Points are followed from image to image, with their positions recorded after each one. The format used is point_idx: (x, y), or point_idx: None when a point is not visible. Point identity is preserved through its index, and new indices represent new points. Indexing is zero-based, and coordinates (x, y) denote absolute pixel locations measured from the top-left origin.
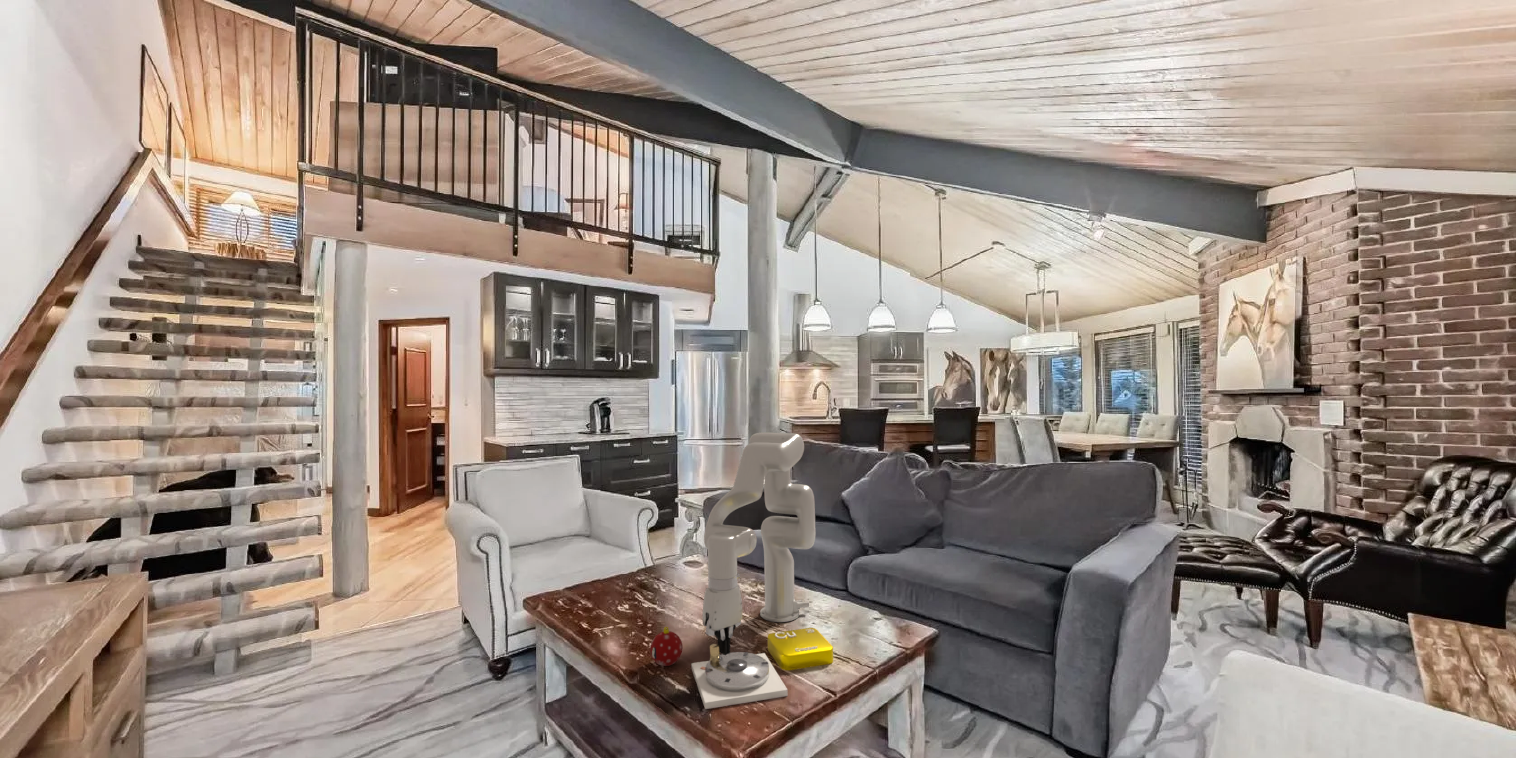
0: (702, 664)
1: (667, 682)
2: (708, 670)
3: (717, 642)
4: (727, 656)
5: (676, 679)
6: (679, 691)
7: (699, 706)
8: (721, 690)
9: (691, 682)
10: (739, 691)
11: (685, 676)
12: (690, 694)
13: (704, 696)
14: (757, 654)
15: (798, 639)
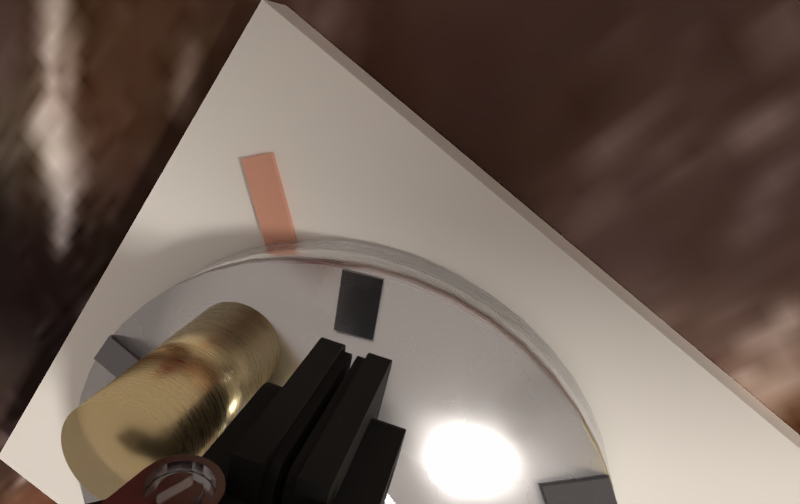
0: (311, 118)
1: (21, 5)
2: (115, 370)
3: (225, 429)
4: (425, 368)
5: (94, 32)
6: (22, 183)
7: (24, 392)
8: None
9: (147, 171)
10: None
11: (170, 60)
12: (54, 271)
13: (29, 420)
14: (792, 455)
15: None
